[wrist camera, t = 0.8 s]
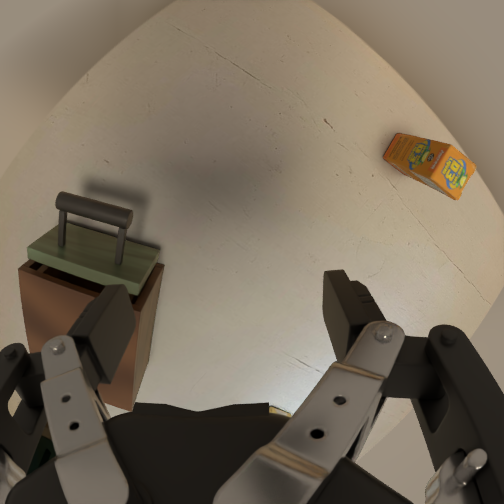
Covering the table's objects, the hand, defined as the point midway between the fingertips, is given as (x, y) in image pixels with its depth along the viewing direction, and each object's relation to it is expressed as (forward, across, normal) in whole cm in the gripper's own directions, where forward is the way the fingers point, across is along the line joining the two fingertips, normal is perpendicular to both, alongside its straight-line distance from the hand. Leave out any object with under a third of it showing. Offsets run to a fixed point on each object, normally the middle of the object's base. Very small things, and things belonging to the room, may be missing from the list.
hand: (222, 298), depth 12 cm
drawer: (+17, +15, +7) cm, 24 cm away
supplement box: (+18, -16, -3) cm, 25 cm away
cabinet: (+18, +17, +11) cm, 27 cm away
